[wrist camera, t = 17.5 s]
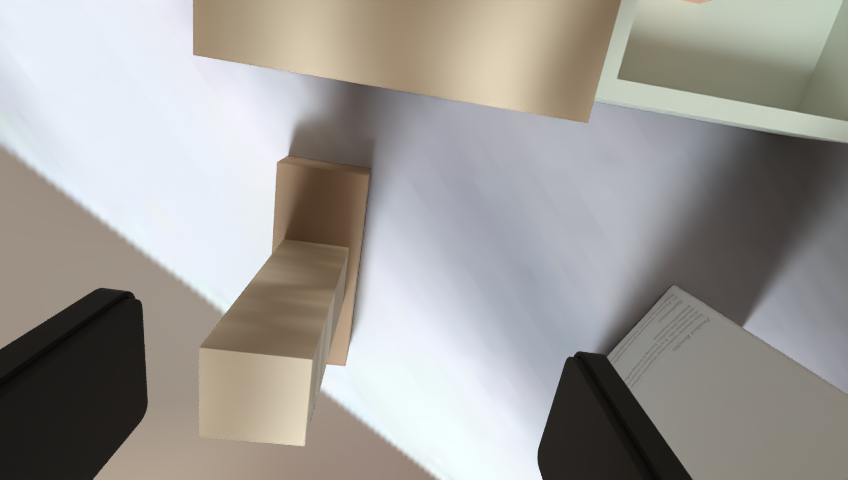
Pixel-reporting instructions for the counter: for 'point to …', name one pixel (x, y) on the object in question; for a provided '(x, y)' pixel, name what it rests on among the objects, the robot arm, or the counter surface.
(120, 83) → the counter surface
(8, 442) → the robot arm
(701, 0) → the salmon pink brick
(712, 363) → the skincare box
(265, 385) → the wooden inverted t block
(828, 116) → the box
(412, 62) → the birch block
